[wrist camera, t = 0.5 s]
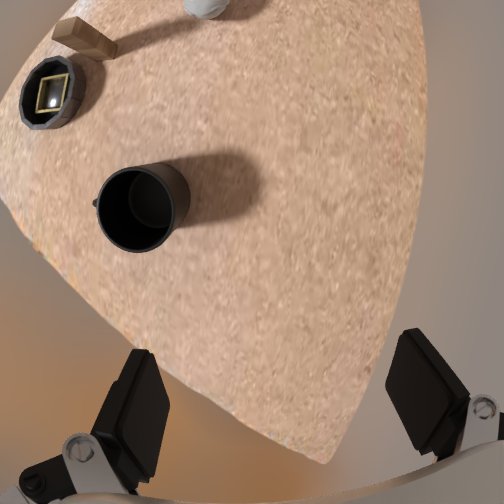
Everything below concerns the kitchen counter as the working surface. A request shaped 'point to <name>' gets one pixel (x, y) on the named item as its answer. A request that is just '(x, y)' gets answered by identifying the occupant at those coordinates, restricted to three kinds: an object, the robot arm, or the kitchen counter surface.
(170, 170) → the mug
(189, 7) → the frog figurine
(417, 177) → the kitchen counter surface
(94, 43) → the brown rectangular bar
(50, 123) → the dark grey round tray
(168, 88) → the kitchen counter surface
